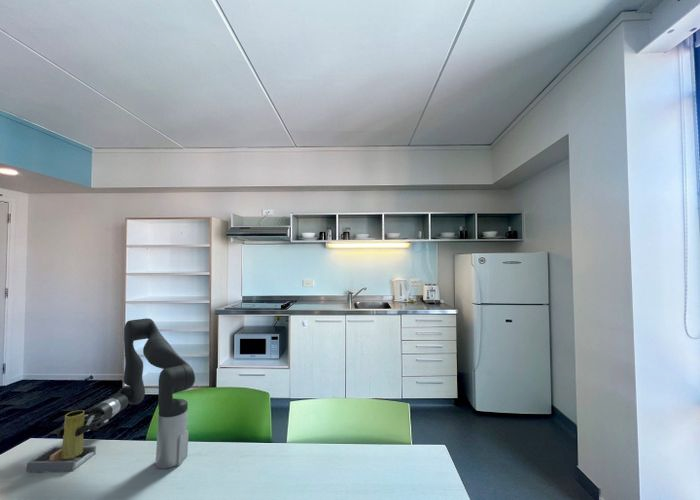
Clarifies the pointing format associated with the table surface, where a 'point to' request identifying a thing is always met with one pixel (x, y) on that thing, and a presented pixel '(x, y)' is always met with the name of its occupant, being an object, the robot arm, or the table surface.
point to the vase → (72, 435)
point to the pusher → (56, 456)
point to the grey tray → (67, 465)
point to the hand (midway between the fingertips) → (67, 433)
